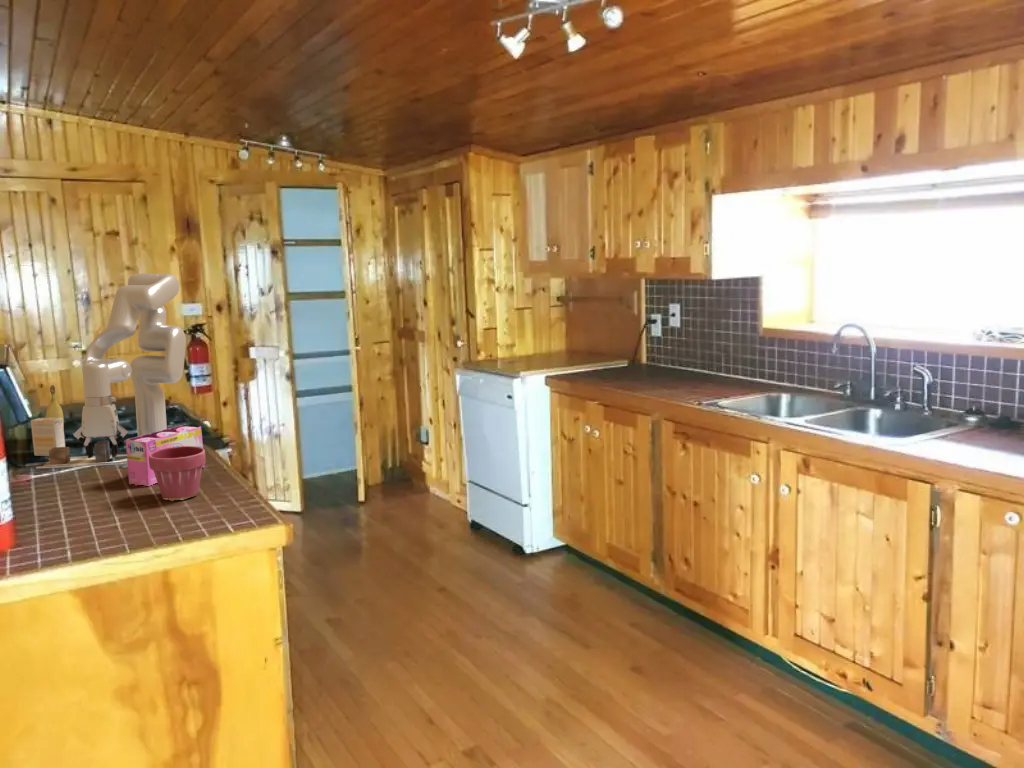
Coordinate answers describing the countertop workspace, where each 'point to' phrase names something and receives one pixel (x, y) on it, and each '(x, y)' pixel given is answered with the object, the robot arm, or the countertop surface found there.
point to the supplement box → (47, 435)
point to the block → (59, 455)
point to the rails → (125, 464)
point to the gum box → (152, 442)
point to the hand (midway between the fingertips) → (102, 456)
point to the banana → (54, 407)
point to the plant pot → (178, 470)
